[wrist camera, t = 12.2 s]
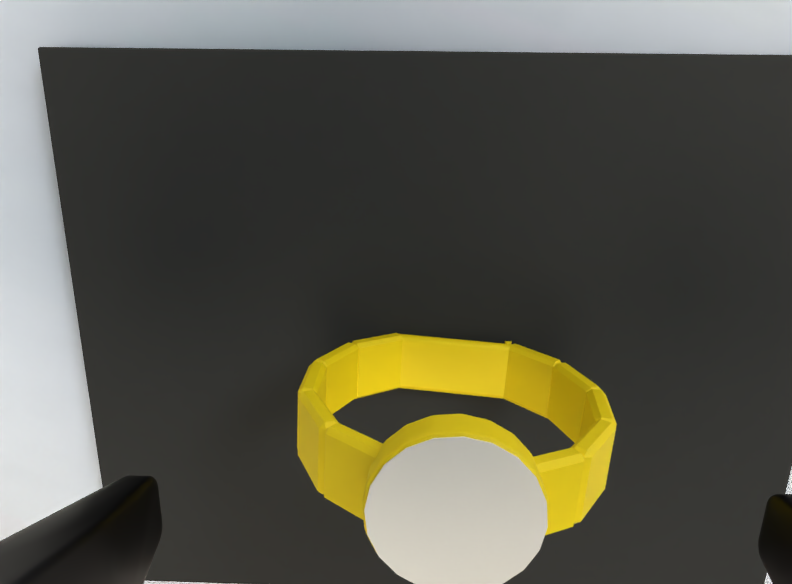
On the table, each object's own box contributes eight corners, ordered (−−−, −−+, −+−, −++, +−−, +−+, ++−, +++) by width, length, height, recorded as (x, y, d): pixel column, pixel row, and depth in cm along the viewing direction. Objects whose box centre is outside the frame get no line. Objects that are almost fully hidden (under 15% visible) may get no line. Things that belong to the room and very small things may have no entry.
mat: (866, 58, 13) (888, 56, 12) (748, 585, 16) (760, 601, 16) (53, 50, 13) (36, 47, 12) (125, 564, 17) (115, 580, 16)
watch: (575, 315, 14) (691, 450, 8) (559, 420, 15) (655, 610, 9) (325, 299, 14) (262, 422, 8) (322, 404, 15) (264, 584, 9)
